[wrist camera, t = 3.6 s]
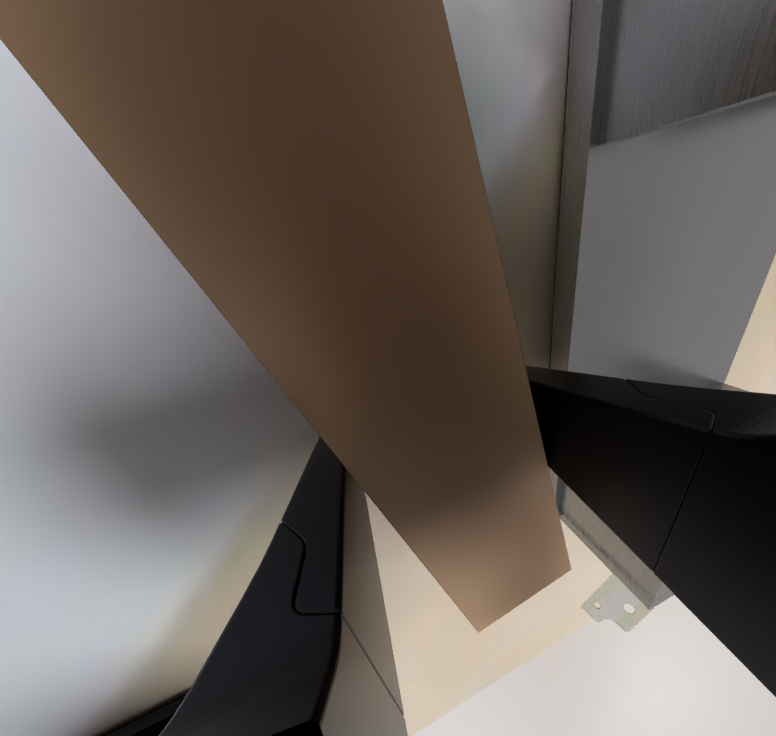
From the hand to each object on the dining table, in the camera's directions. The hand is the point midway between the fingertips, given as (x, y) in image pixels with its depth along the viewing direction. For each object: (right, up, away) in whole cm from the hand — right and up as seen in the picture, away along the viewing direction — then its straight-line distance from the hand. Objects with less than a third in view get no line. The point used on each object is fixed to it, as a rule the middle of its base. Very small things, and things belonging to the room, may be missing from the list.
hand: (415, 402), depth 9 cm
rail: (0, +1, +1) cm, 1 cm away
